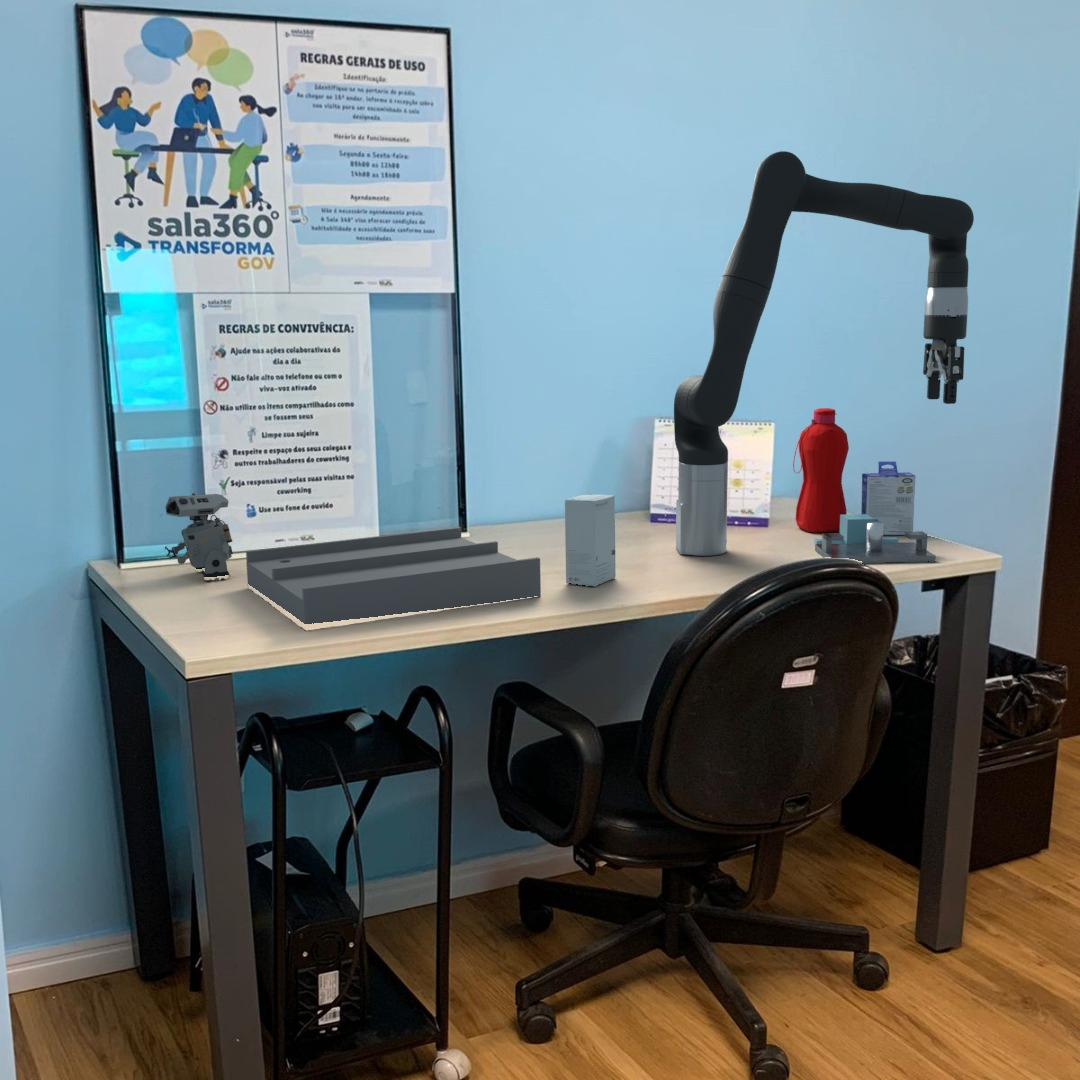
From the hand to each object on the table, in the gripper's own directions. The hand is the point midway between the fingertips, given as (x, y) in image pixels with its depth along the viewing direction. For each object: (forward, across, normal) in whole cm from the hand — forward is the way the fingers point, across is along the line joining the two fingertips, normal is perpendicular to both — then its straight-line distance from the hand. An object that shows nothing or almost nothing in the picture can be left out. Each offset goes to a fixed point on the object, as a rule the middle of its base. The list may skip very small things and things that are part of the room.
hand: (941, 401), depth 229 cm
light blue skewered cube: (+28, -6, -13) cm, 32 cm away
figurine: (+28, +11, -136) cm, 139 cm away
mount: (+28, +5, -13) cm, 31 cm away
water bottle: (+28, -21, -17) cm, 39 cm away
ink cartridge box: (+28, -16, -4) cm, 33 cm away
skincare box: (+28, +20, -67) cm, 75 cm away
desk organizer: (+29, +25, -101) cm, 108 cm away
